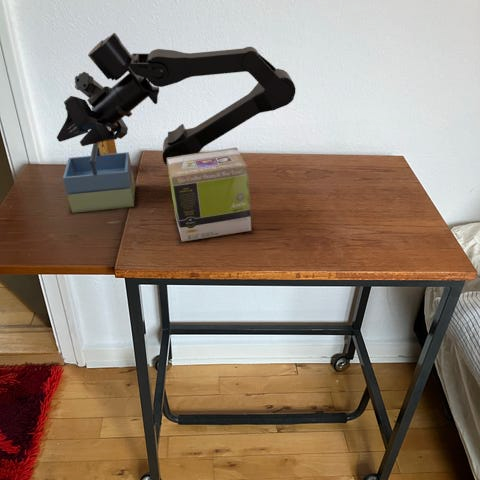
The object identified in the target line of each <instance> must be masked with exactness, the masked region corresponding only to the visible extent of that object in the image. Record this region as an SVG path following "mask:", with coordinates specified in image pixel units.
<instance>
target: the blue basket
mask: <svg viewBox="0 0 480 480" xmlns="http://www.w3.org/2000/svg"><path fill="white" fill-rule="evenodd" d="M131 172H133V167H132V162H131V156H130V152H129V151H126V152H117V153H115V154H104V155H100V150H99V143H95V144H92V147H91V153H90V155H84V156H73V157H67V162H66V166H65V169H64V173H63V176H62V180H63V184H64V188H65V191H66V195H67V196H68V195H71V194H81V193H91V192H101V191H111V190H121V189H130V188H131Z"/></svg>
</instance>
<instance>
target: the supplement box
mask: <svg viewBox="0 0 480 480" xmlns="http://www.w3.org/2000/svg"><path fill="white" fill-rule="evenodd" d="M116 146H117V145H116V140H109V141H104V142H99V150H100V155H104V154H115V153H118V151H117V147H116Z"/></svg>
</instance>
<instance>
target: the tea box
mask: <svg viewBox="0 0 480 480" xmlns="http://www.w3.org/2000/svg"><path fill="white" fill-rule="evenodd" d="M166 166H167V171H168V179H169V185H170V192H171V198H172V205H173V210H174V216H175V220H176V225H177V228H178V232H179V236H180V239H181V240H180V241H181V242H183V243H184V242H189V241H196V240H201V239H207V238H215V237H221V236H226V235H233V234H238V233H245V232H252V216H251V200H250V199H251V197H250V184H249V168H248V165H247V163H246V162H245V160H244V158H243V156H242V154H241V152H240V151H239V149H238V147H230V148H224V149H223V148H222V149H217V150H211V151H202V152H199V153H195V154H189V155H182V156H176V157H168V158H167V165H166Z"/></svg>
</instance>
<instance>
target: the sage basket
mask: <svg viewBox="0 0 480 480" xmlns="http://www.w3.org/2000/svg"><path fill="white" fill-rule="evenodd" d="M135 193H136V183H135V177H134V172H133V171H132V172H131V188H130V189H121V190H111V191H101V192H91V193H81V194H71V195H67V198H68V203H69V205H70V206H69V207H70V210H71V212H72V214H76V213H84V212H93V211H105V210H115V209H123V208H125V209H126V208H133V207H135ZM133 196H134V198H133ZM132 202H133V203H132Z"/></svg>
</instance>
